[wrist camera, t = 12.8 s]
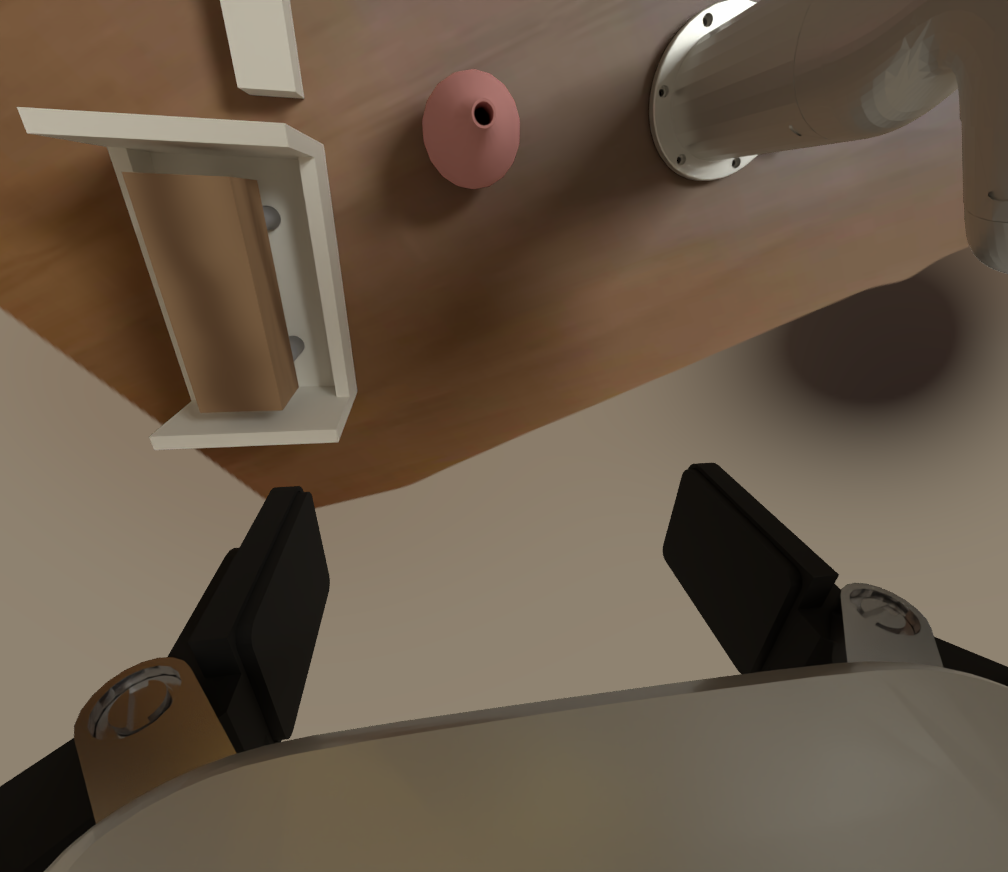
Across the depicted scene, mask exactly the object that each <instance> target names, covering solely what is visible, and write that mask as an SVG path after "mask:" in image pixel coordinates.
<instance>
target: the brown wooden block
mask: <svg viewBox="0 0 1008 872" xmlns="http://www.w3.org/2000/svg"><path fill="white" fill-rule="evenodd" d="M122 175H123V178H124V181H125V184H126V187H127V190H128V193H129V196H130V199H131V203H132V206H133V209H134V212H135V215H136V218H137V221H138V224H139V227H140V230H141V233H142V236H143V239H144V242H145V245H146V248H147V252H148V255H149V258H150V261H151V264H152V267H153V270H154V273H155V276H156V279H157V282H158V285H159V288H160V291H161V294H162V297H163V301H164V304H165V307H166V310H167V313H168V316H169V319H170V322H171V325H172V328H173V331H174V334H175V337H176V340H177V343H178V346H179V350H180V353H181V356H182V359H183V362H184V365H185V368H186V371H187V374H188V377H189V380H190V383H191V386H192V389H193V392H194V396H195V399H196V402H197V405H198V408H199V411H200V413H217V412H249V411H282V410H283V409H284V408H285V406H286V405H287V403H288V402H289V401H290V399H291V398H292V396H293V395H294V393H295V392H296V391H297V389H298V388H299V385H298V380H297V375H296V370H295V365H294V360H293V355H292V350H291V345H290V340H289V335H288V330H287V326H286V321H285V316H284V311H283V306H282V301H281V296H280V291H279V286H278V281H277V276H276V271H275V266H274V261H273V256H272V251H271V246H270V241H269V236H268V232H267V227H266V222H265V217H264V212H263V207H262V202H261V197H260V192H259V187H258V182H257V180H252V179H244V178H236V177H227V176H205V175H182V174H159V173H136V172H122Z"/></svg>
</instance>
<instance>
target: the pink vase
mask: <svg viewBox="0 0 1008 872" xmlns="http://www.w3.org/2000/svg"><path fill="white" fill-rule="evenodd" d="M422 125H423V140H424V144H425V147H426V150H427V152H428V155H429V158H430V160H431V162H432V163H433V165H434V166H435V167H436V168H437V170H438V171H439V172H440V174H441V175H442V176H443V177H444V178H446V179H447V180H449V181H450V182H452V183H453V184H455V185H456V186H460V187H464V188H469V189H478V188H483V187H488V186H490V185H492V184H493V183H495V182H496V181H498V180H499V179H501V178H502V177H503V176H504V175H505V174H506V172H507V171H508V170H509V168H510V167H511V165H512V164H513V162H514V159H515V156H516V153H517V150H518V147H519V140H520V119H519V115H518V112H517V108H516V104H515V101H514V99H513V98H512V96H511V95H510V93H509V91H508V90H507V88H506V87H505V85H504V84H503V83H501V82H500V81H499V80H498V79H496V78H495V77H494V76H492V75H491V74H490V73H486V72H482V71H479V70H475V69H470V70H465V71H459V72H455V73H452V74H451V75H450V76H448V77H447V78H445V79H444V80H443V81H441V82H440V83H438V84H437V86H436V87H435V89H434V90H433V92H432V94H431V95H430V97H429V98H428V100H427V103H426V107H425V111H424V116H423V120H422Z"/></svg>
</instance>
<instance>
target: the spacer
mask: <svg viewBox="0 0 1008 872" xmlns="http://www.w3.org/2000/svg"><path fill="white" fill-rule="evenodd" d="M220 3H221V8H222V13H223V18H224V23H225V27H226V32H227V37H228V42H229V47H230V52H231V57H232V62H233V67H234V72H235V77H236V81H237V86H238V88H239V89H241V90H243V91H244V92H246V93H248V94H249V95H258V96H272V97H287V98H301V99H304V93H303V87H302V80H301V73H300V66H299V59H298V53H297V46H296V39H295V32H294V26H293V19H292V12H291V5H290V0H220Z"/></svg>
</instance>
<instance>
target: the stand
mask: <svg viewBox="0 0 1008 872" xmlns="http://www.w3.org/2000/svg"><path fill="white" fill-rule="evenodd" d="M17 109H18V111H19V114H20V116H21V119H22V121H23V124H24V126H25V129H26V131H27V133H29V134H35V135H41V136H46V137H52V138H58V139H64V140H70V141H75V142H81V143H87V144H93V145H99V146H104V147H107V149H108V152H109V155H110V158H111V161H112V164H113V167H114V170H115V173H116V176H117V179H118V182H119V185H120V188H121V191H122V194H123V197H124V200H125V203H126V206H127V209H128V212H129V215H130V218H131V221H132V224H133V227H134V230H135V233H136V236H137V239H138V242H139V245H140V248H141V251H142V254H143V257H144V260H145V263H146V266H147V269H148V272H149V275H150V278H151V281H152V284H153V287H154V290H155V293H156V296H157V299H158V302H159V305H160V308H161V311H162V314H163V317H164V320H165V323H166V326H167V329H168V332H169V335H170V338H171V341H172V344H173V347H174V350H175V353H176V356H177V359H178V362H179V365H180V368H181V371H182V374H183V377H184V380H185V383H186V386H187V389H188V392H189V395H190V398H191V402H190V403H189V404H187V405H186V406H185V407H184V408H183V409H182V410H180V411H179V412H178V413H177V414H176V415H174V416H173V417H172V418H171V419H170V420H168V421H167V422H166V423H165V424H164V425H162V426H161V427H160V428H159V429H158V430H156V431H155V432H154V433H153V434H152V435H150V436H149V438H150V441H151V443H152V446H153V448H154V450H169V449H192V448H215V447H239V446H262V445H285V444H308V443H331V442H339V439H340V436H341V434H342V431H343V428H344V426H345V423H346V420H347V418H348V415H349V413H350V410H351V407H352V405H353V402H354V399H355V397H356V394H357V385H356V378H355V371H354V363H353V356H352V349H351V341H350V334H349V327H348V319H347V312H346V305H345V297H344V290H343V283H342V275H341V268H340V261H339V253H338V246H337V239H336V231H335V224H334V217H333V209H332V202H331V195H330V187H329V180H328V173H327V165H326V158H325V150H324V145H323V144H321V143H320V142H318V141H316V140H314V139H312V138H311V137H309V136H307V135H305V134H303V133H301V132H300V131H298V130H296V129H294V128H292V127H290V126H289V125H287V124H285V123H272V122H256V121H239V120H223V119H206V118H190V117H173V116H157V115H140V114H124V113H107V112H91V111H74V110H58V109H41V108H25V107H17ZM122 172H136V173H159V174H182V175H205V176H227V177H236V178H244V179H252V180H257V182H258V187H259V192H260V197H261V202H262V207H263V212H264V217H265V222H266V227H267V232H268V236H269V241H270V246H271V251H272V256H273V261H274V266H275V271H276V276H277V281H278V286H279V291H280V296H281V301H282V306H283V311H284V316H285V321H286V326H287V330H288V335H289V340H290V345H291V350H292V355H293V360H294V365H295V370H296V375H297V380H298V385H299V388H298V389H297V391H296V392H295V393H294V395H293V396H292V398H291V399H290V401H289V402H288V403H287V405H286V406H285V408H284V409H283V410H282V411H249V412H217V413H200V411H199V408H198V405H197V402H196V399H195V396H194V392H193V389H192V386H191V383H190V380H189V377H188V374H187V371H186V368H185V365H184V362H183V359H182V356H181V353H180V350H179V346H178V343H177V340H176V337H175V334H174V331H173V328H172V325H171V322H170V319H169V316H168V313H167V310H166V307H165V304H164V301H163V297H162V294H161V291H160V288H159V285H158V282H157V279H156V276H155V273H154V270H153V267H152V264H151V261H150V258H149V255H148V252H147V248H146V245H145V242H144V239H143V236H142V233H141V230H140V227H139V224H138V221H137V218H136V215H135V212H134V209H133V206H132V203H131V199H130V196H129V193H128V190H127V187H126V184H125V181H124V178H123V175H122Z"/></svg>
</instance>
